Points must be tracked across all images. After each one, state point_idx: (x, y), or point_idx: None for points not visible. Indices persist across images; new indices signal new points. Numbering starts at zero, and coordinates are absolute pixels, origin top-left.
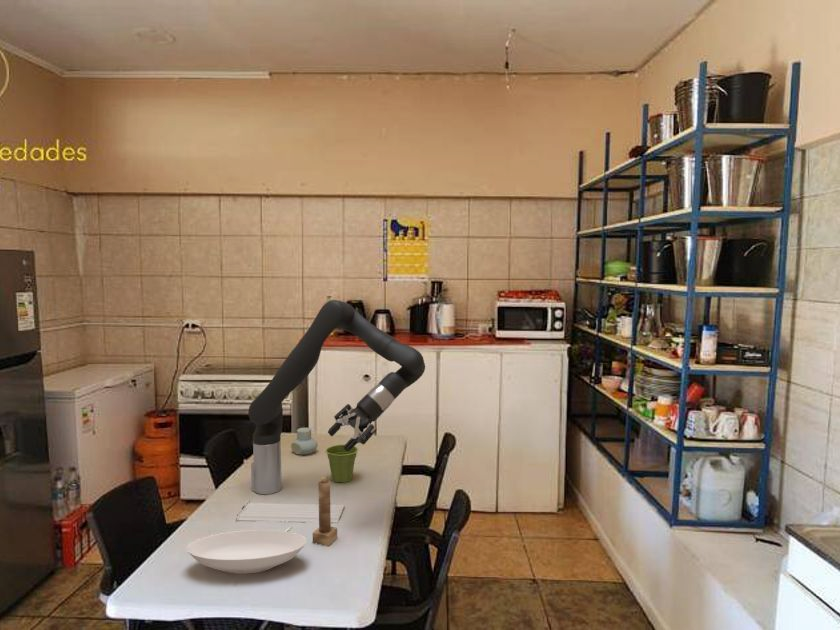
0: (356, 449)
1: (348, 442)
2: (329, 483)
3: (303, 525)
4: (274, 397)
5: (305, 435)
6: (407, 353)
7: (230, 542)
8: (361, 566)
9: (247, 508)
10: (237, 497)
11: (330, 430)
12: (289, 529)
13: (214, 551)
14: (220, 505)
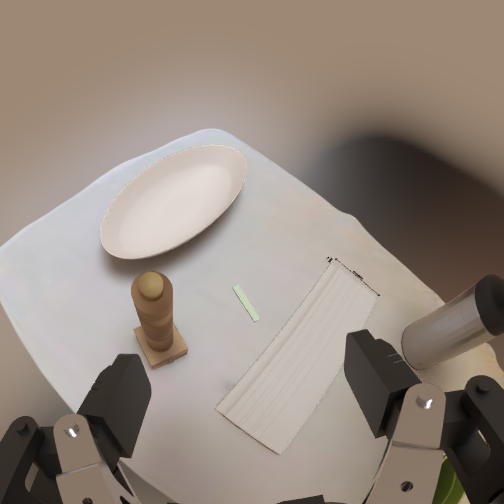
0: None
1: (110, 382)
2: (134, 301)
3: (251, 345)
4: None
5: None
6: None
7: (230, 197)
8: (42, 332)
9: (360, 286)
10: (405, 296)
11: (360, 340)
12: (250, 314)
13: (229, 185)
14: (388, 267)
